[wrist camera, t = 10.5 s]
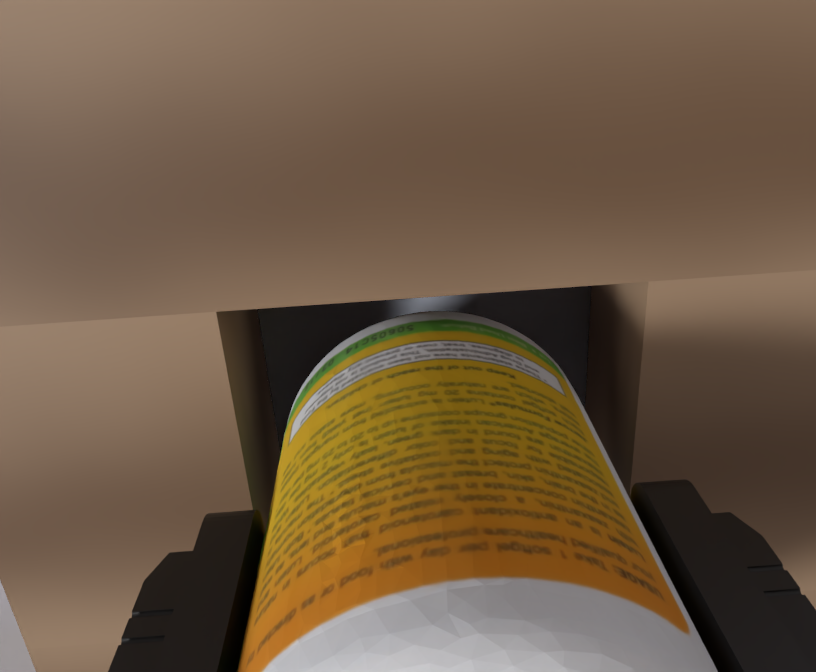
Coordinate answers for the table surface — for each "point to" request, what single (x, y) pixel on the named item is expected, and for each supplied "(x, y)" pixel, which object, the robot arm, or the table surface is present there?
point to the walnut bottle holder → (385, 248)
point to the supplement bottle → (455, 519)
